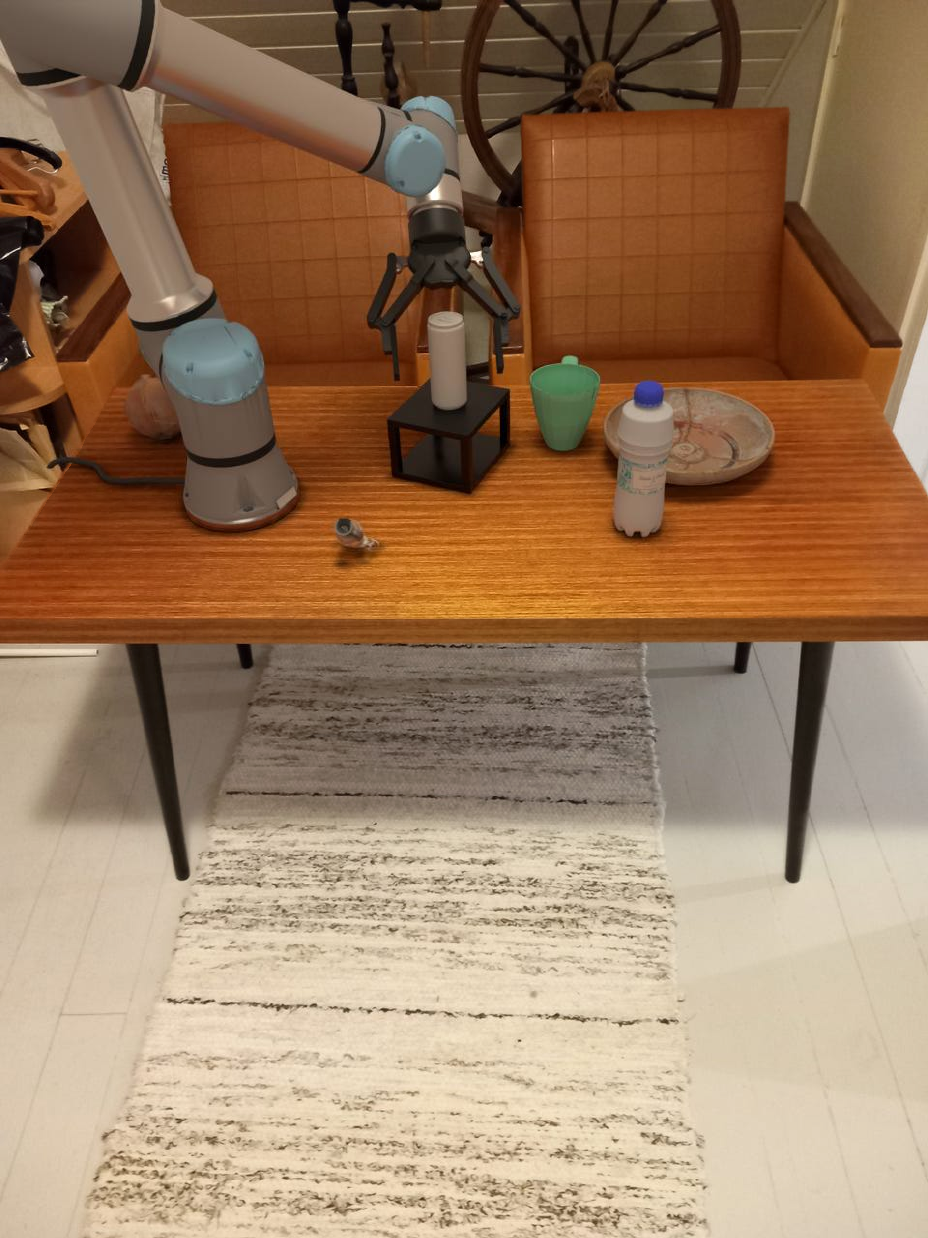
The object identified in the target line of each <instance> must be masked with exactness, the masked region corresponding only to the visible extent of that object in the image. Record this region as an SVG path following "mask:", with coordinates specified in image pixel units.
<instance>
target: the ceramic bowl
mask: <svg viewBox="0 0 928 1238" xmlns="http://www.w3.org/2000/svg"><path fill="white" fill-rule="evenodd" d="M663 390H664V396H663V401H664V402H666V403H668V404H669V405H670V406H671V407H672V409H673V416H674V438H673V440H672V441H673V445H672V447H671V449H670V450H669V455H668V464H667V472H666V481H665V484H670V485H671V484H672V485H677V486H691V487H692V486H708V485H714V484H722V483H725V482H729V481H732V480H735V479H737V478H740V477H743V476H744V475H745V476H746V475H747V474H748V473H750V472H752V471H754V470H755V469H757V468H758V467H760V466H761V465H762V464H763V463H764V462H765V461H766V460H767V459H768V457H769V455H770V454H771V452H772V450H773V447H774V446H775V440H776V431H775V427H774V424H773V422H772V421H771V420H770V419H771V418H769V416H767V415H766V413H765V412H763V411H762V410H761V409H759V407H757V406H755V405H754V404H753V403H751V402H749V401H747V400H745V399H743V398H741V397H738V396H736V395H733V394H731V393H727V392H724V391H720V390H715V389H710V388H705V387H695V386H694V387H692V386H691V387H690V386H689V387H687V386H676V387H675V386H673V387H663ZM631 400H634V394H632V395H630V396H628V397H626V398H624V399H622V400H621V401H619V402H617V403H616V404H615V405H613V406H612V407H611V409H610V410H609V411H608V412H607V414H606V415H605V417H604V420H603V424H602V434H603V435H602V436H603V439H604V442H605V444H606V446H607V448H608V449H609V451H610V452H611V453H612V455H613V456H614V457H615V458H616V459H617V460H619V449H620V448H619V446H618V443H617V439H618V433H617V430H618V427H619V423H620V418H621V414H622V409H623V407H624V405H625V404H626V403H628V402H629V401H631Z"/></svg>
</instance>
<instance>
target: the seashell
mask: <svg viewBox="0 0 928 1238" xmlns="http://www.w3.org/2000/svg"><path fill="white" fill-rule="evenodd" d="M325 522H326V523H327V521H325ZM333 527H334V532H335V534H336V539H337V541H338V542H339V543H340V544H341V545H342V546H344V547H346V548H366V549H367V550H368V551H371V548H372V546H376V545H377V546H378V547H380V542H379V541H377V540H376V539H374V538H372V537H368V536H366V535H365V531H364V527H363V525H362V524H361V523H360V522H359V521H357V520H355V519H352V518H351V519H350V518H348V517H347V518H346V517H340V518H338V519H336V521H335V522H334V523H333ZM368 538H369V539H368Z"/></svg>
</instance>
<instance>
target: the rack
mask: <svg viewBox="0 0 928 1238" xmlns="http://www.w3.org/2000/svg"><path fill="white" fill-rule="evenodd" d="M466 391H467V401H466V402H465V404H464V405H463V406H462V407H460V408H458V409H455V410H443V409H440V408H438V407H436V406H435V405H434V404H433V402H432V395H431V378H430V377H429V378H428V379H427V380H426V381H425V382H424V383H423V384H422V385H420V387H419V388H418V389H416V390H415V392H414V393H412V395H410V396H409V398H407V399H406V400H405V401H404V402H403V403H402V404H401V405H400V406H398V407H397V409H396V410H395V411H394V412H392V414H390V416H388V417H387V418H386V425H387V426H386V427H387V436H388V447H389V457H390V459H389V460H390V469H391V477H392V478H396V479H400V480H405V481H409V482H412V483H413V482H414V483H418V484H422V485H427V486H430V487H431V486H432V487H437V488H441V489H444V490H448V491H449V490H450V491H453V492H458V493H462V494H468V495H471V494H472V492H473V491H474V490H475V489H476V488H477V487H478V485H479V484H480V483H481V481H483V479H484V478H485V477H486V476H487V475H488V473H489V472H490V471H491V470H492V468H494V466H495V465H496V464H497V462H498V461H499V460H500V459H501V458H502V456H503V455H504V454H505V453H506V451H508V449H509V448H510V447H511V389H510V388H507V387H501V386H496V385H491V384H485V383H479V382H473V381H468V380H466ZM497 411H498V412H499V413H498V415H499V417H498V418H499V419H498V420H499V421H498V423H499V425H498V427H499V436H494V435H489V434H483V433H478V432H479V431H480V430H481V428H482V427H483V426H484V425H485V424H486V423H487V421H489V420H490V418H491V417H492V416H493V415H494V414H495V413H496V412H497ZM400 429H402V430H408V431H411V432H417V433H423V434H426V435H424V436H423V438H422V439H421V440H420V441H419V442H418V443H417V444H416V445H415V446H414V447H413V448H412V449H411V450H410V451H409V453H407V454H406V455H405V456H404V458H403V454H402V453H403V452H402V441H401V440H402V439H401V431H400Z"/></svg>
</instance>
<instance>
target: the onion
mask: <svg viewBox="0 0 928 1238" xmlns="http://www.w3.org/2000/svg"><path fill="white" fill-rule="evenodd" d="M124 412H125V415H126V418H127V421H128V422H129V424H130V425H131V426H132V427H133V428H134V430H135V431H137V432H138V433H140V434H142V435H144V436H146V437H149V438H150V439H154V440H160V441H164V440H172V439H173V437H175V436H178V435H179V434H180V433H181V429H180V425H179V421H178V417H177V413H176V410H175V407H174V405H173V402H172V401H171V399H170V397H169V395H168V394H167V392H166V390H165V389H164V387H163V385H162V384H161V382H160V380H159V379H158V377H157V376H155V375H154V374H148V373H143V374H141V375H140V378H137V379H136V380H134V383H133V385H132V386H131V388H129V390H128V393H127V395H126V397H125V400H124Z"/></svg>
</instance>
